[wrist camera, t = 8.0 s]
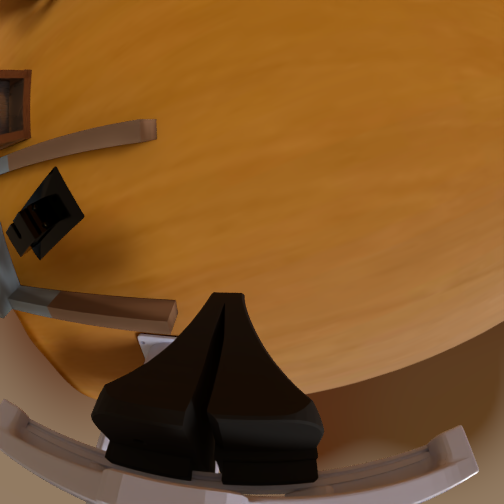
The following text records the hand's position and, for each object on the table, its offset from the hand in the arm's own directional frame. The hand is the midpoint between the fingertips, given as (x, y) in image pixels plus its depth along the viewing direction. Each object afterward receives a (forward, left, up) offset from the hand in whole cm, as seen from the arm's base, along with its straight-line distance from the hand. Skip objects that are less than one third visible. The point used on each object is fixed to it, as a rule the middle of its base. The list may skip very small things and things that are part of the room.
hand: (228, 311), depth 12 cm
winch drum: (+14, +22, -10) cm, 28 cm away
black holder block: (+1, +19, -11) cm, 22 cm away
